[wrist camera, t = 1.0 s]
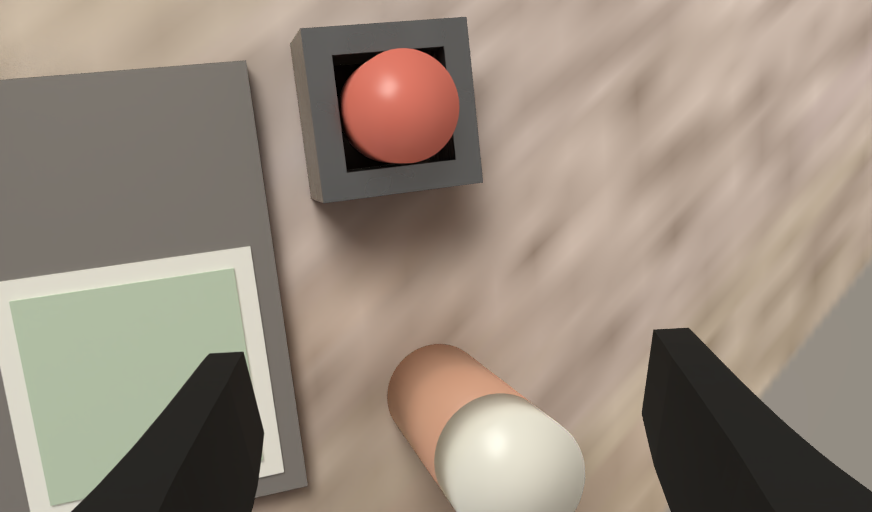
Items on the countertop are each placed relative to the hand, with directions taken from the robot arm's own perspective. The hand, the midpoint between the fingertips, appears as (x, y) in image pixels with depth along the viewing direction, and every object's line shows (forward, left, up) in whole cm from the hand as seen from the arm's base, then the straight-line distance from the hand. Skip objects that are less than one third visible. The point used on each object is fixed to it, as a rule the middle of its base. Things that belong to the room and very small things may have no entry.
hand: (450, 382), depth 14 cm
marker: (-5, -3, -13) cm, 14 cm away
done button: (+5, -2, -11) cm, 12 cm away
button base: (+5, -2, -13) cm, 14 cm away
